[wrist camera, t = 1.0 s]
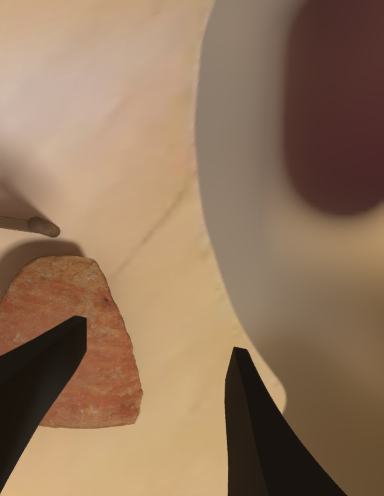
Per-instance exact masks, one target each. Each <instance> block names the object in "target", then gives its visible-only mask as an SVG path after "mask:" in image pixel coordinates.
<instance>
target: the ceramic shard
mask: <svg viewBox="0 0 384 496" xmlns="http://www.w3.org/2000/svg"><path fill="white" fill-rule="evenodd" d="M74 315H77V316H82V317H87V351H86V353H85V355H84V357H83V359H82V361H81V363H80V365H79V366H78V368H77V370H76V372H75V373H74V375H73V376H72V378H71V379H70V380H69V382H68V383H67V385H66V386H65V388H64V389H63V390H62V392H61V393H60V395H59V396H58V398H57V399H56V400H55V402H54V403H53V405H52V406H51V408H50V409H49V410H48V412H47V413H46V415H45V416H44V418H43V419H42V421H41V422H40V424H39V426H44V427H53V428H59V427H62V428H79V429H94V428H105V427H115V426H123V425H129V424H134V423H135V422H136V420H137V418H138V416H139V413H140V404H141V399H142V395H143V391H142V389H141V383H140V379H139V372H138V369H137V366H136V360H135V358H134V355H133V346H132V343H131V339H130V336H129V334H128V333H127V331H126V328H125V324H124V320H123V318H122V316H121V314H120V312H119V309H118V307H117V305H116V304H115V302H114V300H113V298H112V296H111V292H110V289H109V287H108V284H107V281H106V278H105V276H104V274H103V273H102V271H101V270H100V268H99V265H98V264H97V263H96V261H95V260H93V259H90V258H84V257H80V256H76V255H66V256H44V257H38V258H36V259H33V260H32V261H30V262H29V263H28V264H26V265H25V266H24V267H23V268H22V269H21V270H20V271H19V273H18V274H17V275H16V277H15V278H14V279H13V281H12V282H11V284H10V286H9V287H8V290H7V292H6V294H5V295H4V297H3V299H2V301H1V303H0V356H1V355H3V354H5V353H7V352H9V351H11V350H13V349H15V348H17V347H19V346H21V345H22V344H24V343H26V342H28V341H30V340H32V339H34V338H36V337H38V336H39V335H41V334H43V333H45V332H46V331H48V330H50V329H52V328H53V327H55V326H57V325H58V324H60V323H62V322H64V321H65V320H67V319H69V318H71V317H72V316H74Z"/></svg>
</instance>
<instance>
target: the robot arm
mask: <svg viewBox="0 0 384 496" xmlns="http://www.w3.org/2000/svg"><path fill="white" fill-rule="evenodd" d="M86 351H87V317H82V316H77V315H74V316H72V317H71V318H69V319H67V320H65V321H64V322H62V323H60V324H58V325H57V326H55V327H53V328H52V329H50V330H48V331H46V332H45V333H43V334H41V335H39V336H38V337H36V338H34V339H32V340H30V341H28V342H26V343H24V344H22V345H21V346H19V347H17V348H15V349H13V350H11V351H9V352H7V353H5V354H3V355H1V356H0V493H1V491H2V489H3V487H4V486H5V484H6V482H7V480H8V478H9V476H10V474H11V473H12V471H13V469H14V467H15V465H16V464H17V462H18V460H19V458H20V456H21V455H22V453H23V451H24V449H25V448H26V446H27V444H28V442H29V441H30V439H31V437H32V435H33V434H34V432H35V430H36V429H37V427H38V425H39V424H40V422H41V421H42V419H43V418H44V416H45V415H46V413H47V412H48V410H49V409H50V408H51V406H52V405H53V403H54V402H55V400H56V399H57V398H58V396H59V395H60V393H61V392H62V390H63V389H64V388H65V386H66V385H67V383H68V382H69V380H70V379H71V378H72V376H73V375H74V373H75V372H76V370H77V368H78V366H79V365H80V363H81V361H82V359H83V357H84V355H85V353H86ZM224 402H225V419H226V435H227V450H228V496H347V495H346V494H345V493H344V492H343V491H342V490H341V488H339V486H338V485H337V484H336V483H335V482H334V481H333V480H332V479H331V477H330V476H329V475H328V474H327V473H326V472H325V471H324V470H323V468H322V467H321V466H320V465H319V464H318V462H317V461H316V460H315V459H314V457H313V456H312V455H311V454H310V453H309V451H308V450H307V449H306V448H305V446H304V445H303V444H302V443H301V441H300V440H299V439H298V437H297V436H296V435H295V433H294V432H293V430H292V429H291V427H290V426H289V425H288V423H287V422H286V420H285V419H284V417H283V416H282V414H281V412H280V411H279V409H278V408H277V406H276V404H275V403H274V401H273V399H272V398H271V396H270V394H269V392H268V391H267V389H266V387H265V385H264V383H263V381H262V380H261V378H260V376H259V374H258V372H257V369H256V367H255V365H254V363H253V361H252V359H251V357H250V354H249V352H248V350H247V349H243V348H238V347H234V348H233V351H232V355H231V359H230V363H229V367H228V371H227V375H226V379H225V401H224Z"/></svg>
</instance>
